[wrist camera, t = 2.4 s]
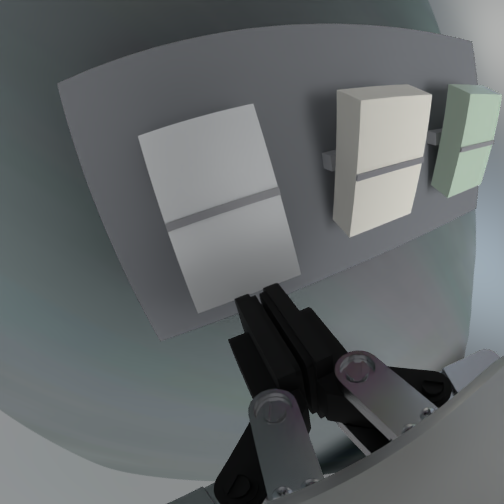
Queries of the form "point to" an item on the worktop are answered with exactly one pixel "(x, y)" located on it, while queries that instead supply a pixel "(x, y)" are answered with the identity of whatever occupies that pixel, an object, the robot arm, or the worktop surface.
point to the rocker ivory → (378, 154)
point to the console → (275, 135)
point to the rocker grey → (221, 205)
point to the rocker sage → (465, 137)
